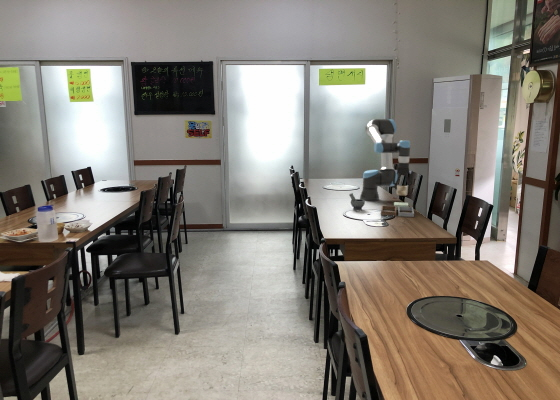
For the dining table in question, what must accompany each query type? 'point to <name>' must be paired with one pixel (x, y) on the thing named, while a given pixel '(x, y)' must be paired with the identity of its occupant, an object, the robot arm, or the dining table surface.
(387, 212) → the tray walnut
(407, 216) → the tray grey
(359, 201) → the mortar and pestle
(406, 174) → the robot arm
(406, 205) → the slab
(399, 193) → the letter cube
